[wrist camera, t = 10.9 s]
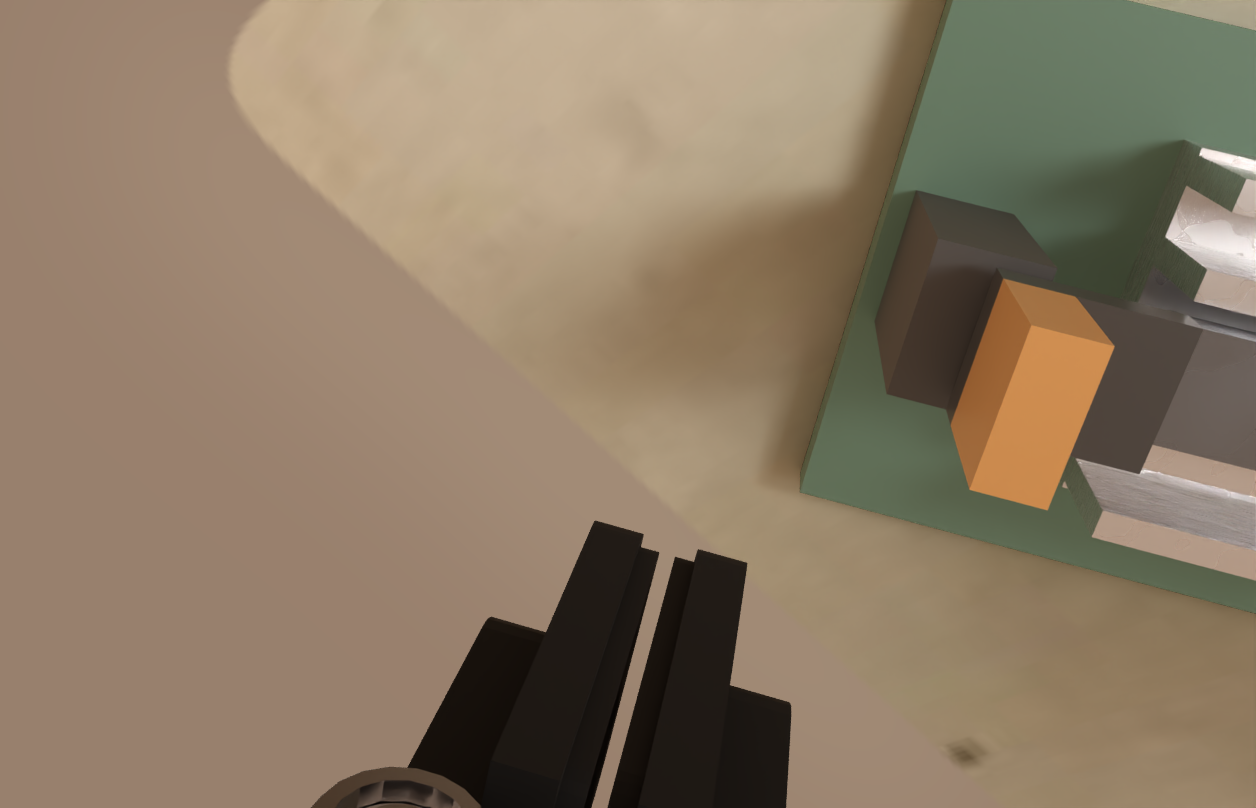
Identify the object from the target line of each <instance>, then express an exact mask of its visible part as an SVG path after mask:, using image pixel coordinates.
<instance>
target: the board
mask: <svg viewBox="0 0 1256 808" xmlns="http://www.w3.org/2000/svg"><path fill="white" fill-rule="evenodd" d="M1184 139H1185V140H1189V141H1193V142H1197V143H1201V144H1205V145H1210V146H1214V147H1218V148H1222V149H1226V150H1230V151H1234V152H1239V153H1243V154H1247V155H1251V156H1255V157H1256V31H1255V30H1251V29H1247V28H1242V27H1238V26H1234V25H1229V24H1225V23H1221V22H1217V21H1212V20H1208V19H1204V18H1200V17H1195V16H1191V15H1187V14H1183V13H1178V12H1174V11H1170V10H1166V9H1161V8H1157V7H1153V6H1148V5H1144V4H1140V3H1136V2H1131V1H1127V0H946V4H945V7H944V10H943V13H942V17H941V20H940V23H939V26H938V30H937V33H936V36H935V39H934V42H933V46H932V49H931V52H930V55H929V59H928V62H927V65H926V68H925V72H924V75H923V78H922V81H921V84H920V88H919V91H918V94H917V97H916V101H915V104H914V107H913V110H912V114H911V117H910V120H909V123H908V127H907V130H906V133H905V136H904V139H903V143H902V146H901V149H900V152H899V156H898V159H897V162H896V165H895V169H894V172H893V175H892V178H891V181H890V185H889V188H888V191H887V194H886V198H885V201H884V204H883V207H882V211H881V214H880V217H879V220H878V224H877V227H876V230H875V233H874V236H873V240H872V243H871V246H870V249H869V253H868V256H867V259H866V262H865V266H864V269H863V272H862V275H861V278H860V282H859V285H858V288H857V291H856V295H855V298H854V301H853V304H852V308H851V311H850V314H849V317H848V320H847V324H846V327H845V330H844V333H843V337H842V340H841V343H840V346H839V350H838V353H837V356H836V359H835V363H834V366H833V369H832V372H831V375H830V379H829V382H828V385H827V388H826V392H825V395H824V398H823V401H822V405H821V408H820V411H819V414H818V417H817V421H816V424H815V427H814V430H813V434H812V437H811V440H810V443H809V447H808V450H807V453H806V456H805V460H804V463H803V466H802V469H801V472H800V492H801V493H804V494H808V495H812V496H816V497H819V498H823V499H827V500H831V501H834V502H838V503H842V504H846V505H849V506H853V507H857V508H861V509H864V510H868V511H872V512H876V513H879V514H883V515H887V516H891V517H894V518H898V519H902V520H906V521H909V522H913V523H917V524H921V525H925V526H928V527H932V528H936V529H940V530H943V531H947V532H951V533H955V534H958V535H962V536H966V537H970V538H973V539H977V540H981V541H985V542H988V543H992V544H996V545H1000V546H1003V547H1007V548H1011V549H1015V550H1018V551H1022V552H1026V553H1030V554H1033V555H1037V556H1041V557H1045V558H1048V559H1052V560H1056V561H1060V562H1064V563H1067V564H1071V565H1075V566H1079V567H1082V568H1086V569H1090V570H1094V571H1097V572H1101V573H1105V574H1109V575H1112V576H1116V577H1120V578H1124V579H1127V580H1131V581H1135V582H1139V583H1142V584H1146V585H1150V586H1154V587H1157V588H1161V589H1165V590H1169V591H1172V592H1176V593H1180V594H1184V595H1187V596H1191V597H1195V598H1199V599H1203V600H1206V601H1210V602H1214V603H1218V604H1221V605H1225V606H1229V607H1233V608H1236V609H1240V610H1244V611H1248V612H1251V613H1255V614H1256V580H1252V579H1248V578H1244V577H1240V576H1237V575H1233V574H1229V573H1225V572H1222V571H1218V570H1214V569H1210V568H1206V567H1203V566H1199V565H1195V564H1191V563H1187V562H1184V561H1180V560H1176V559H1172V558H1169V557H1165V556H1161V555H1157V554H1153V553H1150V552H1146V551H1142V550H1138V549H1135V548H1131V547H1127V546H1123V545H1119V544H1116V543H1112V542H1108V541H1104V540H1100V539H1097V538H1093V537H1091V535H1090V533H1089V531H1088V529H1087V527H1086V525H1085V522H1084V520H1083V518H1082V516H1081V514H1080V512H1079V510H1078V508H1077V506H1076V504H1075V502H1074V500H1073V498H1072V496H1071V494H1070V491H1069V489H1067V488H1064V487H1062V486H1061V484H1060V482H1059V483H1058V486H1057V488H1056V491H1055V493H1054V496H1053V498H1052V501H1051V503H1050V505H1049V508H1048V510H1044V509H1041V508H1037V507H1033V506H1029V505H1025V504H1022V503H1018V502H1014V501H1010V500H1006V499H1003V498H999V497H995V496H991V495H987V494H984V493H980V492H976V491H972V490H969V487H968V483H967V480H966V476H965V473H964V470H963V466H962V463H961V459H960V456H959V453H958V449H957V446H956V442H955V439H954V436H953V432H952V429H951V425H950V422H949V419H948V415H947V412H946V408H947V405H948V402H949V400H950V397H951V394H952V391H953V388H954V385H955V383H956V380H957V377H958V374H959V371H960V369H961V366H962V363H963V360H964V357H965V355H966V352H967V349H968V346H969V343H970V341H971V338H972V335H973V332H974V329H975V327H976V324H977V321H978V318H979V315H980V313H981V310H982V307H983V304H984V301H985V299H986V296H987V293H988V290H989V287H990V285H991V282H992V279H993V276H994V273H995V271H996V268H1001V269H1005V270H1009V271H1013V272H1017V273H1021V274H1025V275H1029V276H1033V277H1037V278H1041V279H1045V280H1049V281H1053V282H1057V283H1061V284H1065V285H1069V286H1073V287H1077V288H1081V289H1085V290H1089V291H1093V292H1097V293H1101V294H1105V295H1109V296H1113V297H1117V298H1120V297H1121V295H1122V292H1123V290H1124V287H1125V285H1126V282H1127V280H1128V277H1129V275H1130V273H1131V270H1132V268H1133V265H1134V263H1135V260H1136V258H1137V255H1138V253H1139V250H1140V248H1141V245H1142V243H1143V240H1144V238H1145V236H1146V233H1147V231H1148V228H1149V226H1150V223H1151V221H1152V218H1153V216H1154V213H1155V211H1156V208H1157V206H1158V203H1159V201H1160V199H1161V196H1162V194H1163V191H1164V189H1165V186H1166V184H1167V181H1168V179H1169V176H1170V174H1171V171H1172V169H1173V166H1174V164H1175V161H1176V159H1177V157H1178V154H1179V152H1180V149H1181V147H1182V144H1183V142H1184Z"/></svg>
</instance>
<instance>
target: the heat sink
mask: <svg viewBox="0 0 1256 808" xmlns="http://www.w3.org/2000/svg"><path fill="white" fill-rule="evenodd" d="M1120 298H1121V299H1125V300H1128V301H1132V302H1136V303H1140V304H1144V305H1148V306H1152V307H1156V308H1160V309H1164V310H1168V311H1172V312H1176V313H1180V314H1184V315H1188V316H1191V317H1195V318H1199V319H1203V320H1207V321H1211V322H1215V323H1219V324H1223V325H1227V326H1231V327H1235V328H1239V329H1243V330H1248V331H1252V332H1256V157H1255V156H1251V155H1247V154H1243V153H1239V152H1234V151H1230V150H1226V149H1222V148H1218V147H1214V146H1210V145H1205V144H1201V143H1197V142H1193V141H1189V140H1185V139H1184V142H1183V144H1182V147H1181V149H1180V152H1179V154H1178V157H1177V159H1176V161H1175V164H1174V166H1173V169H1172V171H1171V174H1170V176H1169V179H1168V181H1167V184H1166V186H1165V189H1164V191H1163V194H1162V196H1161V199H1160V201H1159V203H1158V206H1157V208H1156V211H1155V213H1154V216H1153V218H1152V221H1151V223H1150V226H1149V228H1148V231H1147V233H1146V236H1145V238H1144V240H1143V243H1142V245H1141V248H1140V250H1139V253H1138V255H1137V258H1136V260H1135V263H1134V265H1133V268H1132V270H1131V273H1130V275H1129V277H1128V280H1127V282H1126V285H1125V287H1124V290H1123V292H1122V295H1121V297H1120ZM1059 482H1060V484H1061V486H1062V487H1064V488H1067V489H1069V491H1070V494H1071V496H1072V498H1073V500H1074V502H1075V504H1076V506H1077V508H1078V510H1079V512H1080V514H1081V516H1082V518H1083V520H1084V522H1085V525H1086V527H1087V529H1088V531H1089V533H1090V535H1091V537H1093V538H1097V539H1100V540H1104V541H1108V542H1112V543H1116V544H1119V545H1123V546H1127V547H1131V548H1135V549H1138V550H1142V551H1146V552H1150V553H1153V554H1157V555H1161V556H1165V557H1169V558H1172V559H1176V560H1180V561H1184V562H1187V563H1191V564H1195V565H1199V566H1203V567H1206V568H1210V569H1214V570H1218V571H1222V572H1225V573H1229V574H1233V575H1237V576H1240V577H1244V578H1248V579H1252V580H1256V471H1254V470H1250V469H1247V468H1243V467H1239V466H1235V465H1231V464H1227V463H1223V462H1219V461H1215V460H1211V459H1207V458H1203V457H1199V456H1195V455H1191V454H1187V453H1183V452H1179V451H1175V450H1171V449H1167V448H1163V447H1159V446H1155V445H1152V447H1151V450H1150V452H1149V454H1148V456H1147V459H1146V461H1145V463H1144V466H1143V468H1142V470H1141V472H1140V474H1136V473H1132V472H1128V471H1124V470H1120V469H1116V468H1113V467H1109V466H1105V465H1101V464H1097V463H1093V462H1090V461H1086V460H1082V459H1078V458H1074V457H1069V459H1068V462H1067V464H1066V466H1065V469H1064V471H1063V474H1062V476H1061V479H1060V481H1059Z"/></svg>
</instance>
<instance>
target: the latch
mask: <svg viewBox="0 0 1256 808" xmlns="http://www.w3.org/2000/svg"><path fill="white" fill-rule="evenodd" d="M1202 332H1203V328H1202V327H1201V326H1200V325H1199V324H1198V323H1197V322H1196V321H1195V320H1194V319H1192V318H1191V317H1190V316H1188V315H1184V314H1180V313H1176V312H1172V311H1168V310H1164V309H1160V308H1156V307H1152V306H1148V305H1144V304H1140V303H1136V302H1132V301H1128V300H1125V299H1121V298H1117V297H1113V296H1109V295H1105V294H1101V293H1097V292H1093V291H1089V290H1085V289H1081V288H1077V287H1073V286H1069V285H1065V284H1061V283H1057V282H1053V281H1049V280H1045V279H1041V278H1037V277H1033V276H1029V275H1025V274H1021V273H1017V272H1013V271H1009V270H1005V269H1001V268H996V271H995V273H994V276H993V279H992V282H991V285H990V287H989V290H988V293H987V296H986V299H985V301H984V304H983V307H982V310H981V313H980V315H979V318H978V321H977V324H976V327H975V329H974V332H973V335H972V338H971V341H970V343H969V346H968V349H967V352H966V355H965V357H964V360H963V363H962V366H961V369H960V371H959V374H958V377H957V380H956V383H955V385H954V388H953V391H952V394H951V397H950V400H949V402H948V405H947V408H946V412H947V415H948V419H949V422H950V425H951V429H952V432H953V436H954V439H955V442H956V446H957V449H958V453H959V456H960V459H961V463H962V466H963V470H964V473H965V476H966V480H967V483H968V487H969V490H972V491H976V492H980V493H984V494H987V495H991V496H995V497H999V498H1003V499H1006V500H1010V501H1014V502H1018V503H1022V504H1025V505H1029V506H1033V507H1037V508H1041V509H1044V510H1048V508H1049V505H1050V503H1051V501H1052V498H1053V496H1054V493H1055V491H1056V488H1057V486H1058V483H1059V481H1060V479H1061V476H1062V474H1063V471H1064V469H1065V466H1066V464H1067V462H1068V459H1069V457H1074V458H1078V459H1082V460H1086V461H1090V462H1093V463H1097V464H1101V465H1105V466H1109V467H1113V468H1116V469H1120V470H1124V471H1128V472H1132V473H1136V474H1140V472H1141V470H1142V468H1143V466H1144V463H1145V461H1146V459H1147V456H1148V454H1149V452H1150V450H1151V447H1152V445H1153V443H1154V441H1155V438H1156V436H1157V434H1158V431H1159V429H1160V427H1161V425H1162V422H1163V420H1164V418H1165V416H1166V413H1167V411H1168V409H1169V406H1170V404H1171V402H1172V400H1173V397H1174V395H1175V393H1176V391H1177V388H1178V386H1179V384H1180V381H1181V379H1182V377H1183V375H1184V372H1185V370H1186V368H1187V366H1188V363H1189V361H1190V359H1191V357H1192V354H1193V352H1194V350H1195V347H1196V345H1197V343H1198V341H1199V338H1200V336H1201V334H1202Z"/></svg>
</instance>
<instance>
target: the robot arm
mask: <svg viewBox="0 0 1256 808" xmlns="http://www.w3.org/2000/svg"><path fill="white" fill-rule="evenodd" d="M642 540H643V534H641V533H638V532H634V531H631V530H627V529H624V528H620V527H616V526H613V525H609V524H605V523H602V522H598V521H594V523H593V525H592V527H591V530H590V532H589V534H588V537H587V539H586V541H585V544H584V546H583V548H582V551H581V553H580V555H579V557H578V560H577V562H576V564H575V567H574V569H573V571H572V574H571V576H570V578H569V581H568V583H567V585H566V587H565V590H564V592H563V594H562V597H561V599H560V601H559V604H558V606H557V608H556V611H555V613H554V615H553V617H552V620H551V622H550V624H549V627H548V629H547V631H546V632H543V631H539V630H535V629H532V628H529V627H525V626H521V625H518V624H515V623H511V622H508V621H504V620H501V619H497V618H494V617H490V618H488V619H487V621H486V622H485V624H484V625H483V627H482V629H481V631H480V633H479V634H478V636H477V638H476V640H475V642H474V644H473V646H472V647H471V649H470V651H469V653H468V655H467V657H466V659H465V661H464V662H463V664H462V666H461V668H460V670H459V672H458V674H457V676H456V678H455V679H454V681H453V683H452V685H451V687H450V689H449V691H448V692H447V694H446V696H445V698H444V700H443V702H442V704H441V706H440V708H439V709H438V711H437V713H436V715H435V717H434V719H433V721H432V722H431V724H430V726H429V728H428V730H427V732H426V734H425V736H424V737H423V739H422V741H421V743H420V745H419V747H418V749H417V751H416V753H415V754H414V756H413V758H412V760H411V762H410V764H409V766H408V767H407V768H401V767H385V768H380V769H373V770H367V771H362V772H360V773H358V774H355V775H353V776H350V777H348V778H346V779H343V780H341V781H339V782H338V783H337V784H335V785H334V786H333V787H332V788H331V789H329V790H328V791H327V792H326V793H324V794H323V795H322V796H321V797H320V798H319V799H318V800H317V801H316V802H315V804H314V805H313V806H312V807H311V808H591V807H592V803H593V800H594V797H595V793H596V790H597V786H598V783H599V779H600V776H601V772H602V768H603V765H604V761H605V757H606V754H607V750H608V746H609V742H610V739H611V735H612V731H613V727H614V723H615V719H616V716H617V712H618V708H619V704H620V701H621V697H622V693H623V689H624V685H625V682H626V677H627V674H628V670H629V666H630V663H631V658H632V655H633V651H634V647H635V643H636V640H637V636H638V632H639V628H640V624H641V621H642V616H643V613H644V609H645V606H646V602H647V598H648V594H649V590H650V587H651V582H652V579H653V575H654V571H655V567H656V564H657V560H658V556H659V552H656V551H652V550H649V549H645V548H642V547H641V544H642ZM746 570H747V563H746V562H742V561H739V560H735V559H731V558H728V557H724V556H721V555H717V554H713V553H710V552H706V551H703V550H699V549H698V551H697V554H696V557H695V561H694V562H692V561H688V560H685V559H681V558H677V557H675V559H674V563H673V567H672V570H671V574H670V578H669V581H668V585H667V589H666V593H665V596H664V600H663V604H662V607H661V612H660V615H659V619H658V622H657V626H656V630H655V633H654V637H653V641H652V644H651V649H650V652H649V656H648V659H647V663H646V667H645V671H644V674H643V678H642V681H641V685H640V689H639V693H638V696H637V700H636V704H635V707H634V711H633V715H632V719H631V722H630V726H629V730H628V733H627V737H626V741H625V745H624V748H623V752H622V756H621V759H620V763H619V767H618V770H617V774H616V778H615V782H614V786H613V789H612V793H611V796H610V800H609V805H608V808H786V799H787V798H786V797H787V780H788V763H789V762H788V761H789V746H790V726H791V705H790V703H789V702H786V701H783V700H779V699H776V698H772V697H769V696H765V695H762V694H759V693H755V692H751V691H748V690H745V689H741V688H738V687H734V686H731V685H730V680H731V673H732V666H733V660H734V653H735V646H736V639H737V631H738V625H739V618H740V611H741V604H742V598H743V591H744V584H745V577H746Z"/></svg>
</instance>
